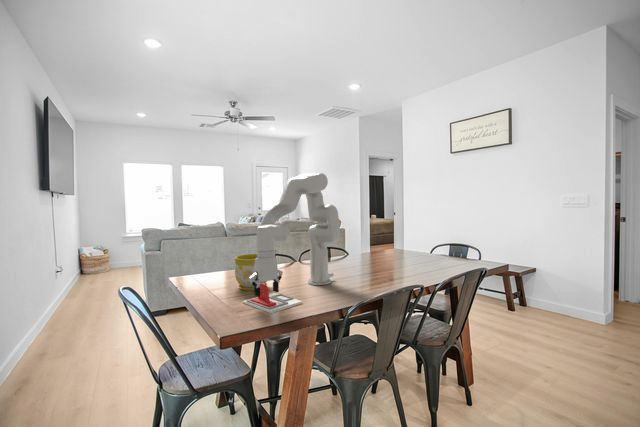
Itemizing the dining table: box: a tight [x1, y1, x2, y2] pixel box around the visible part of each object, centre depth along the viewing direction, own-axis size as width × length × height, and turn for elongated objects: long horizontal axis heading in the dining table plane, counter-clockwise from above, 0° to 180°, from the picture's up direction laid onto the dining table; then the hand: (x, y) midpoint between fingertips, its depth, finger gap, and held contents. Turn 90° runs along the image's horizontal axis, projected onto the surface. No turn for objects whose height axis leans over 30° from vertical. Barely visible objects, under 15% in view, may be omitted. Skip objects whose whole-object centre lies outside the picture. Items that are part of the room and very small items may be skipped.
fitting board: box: [242, 292, 303, 314], centre depth 146 cm, size 17×20×2 cm
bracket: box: [250, 283, 276, 307], centre depth 143 cm, size 12×4×8 cm, turn 44°
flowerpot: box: [233, 253, 268, 292], centre depth 173 cm, size 18×18×16 cm
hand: (266, 293), depth 144 cm, fingers open, 9 cm apart
